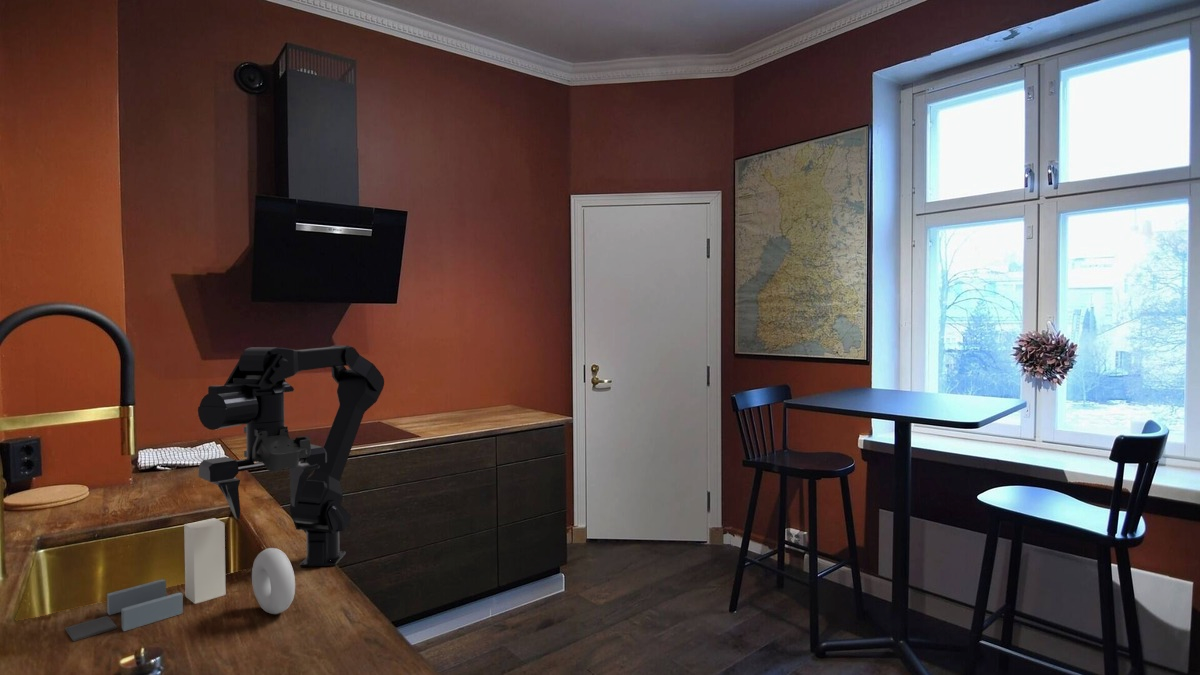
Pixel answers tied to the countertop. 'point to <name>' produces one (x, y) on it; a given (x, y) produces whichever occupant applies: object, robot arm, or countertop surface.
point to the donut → (273, 580)
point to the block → (204, 560)
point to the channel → (144, 604)
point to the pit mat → (90, 628)
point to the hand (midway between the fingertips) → (266, 512)
